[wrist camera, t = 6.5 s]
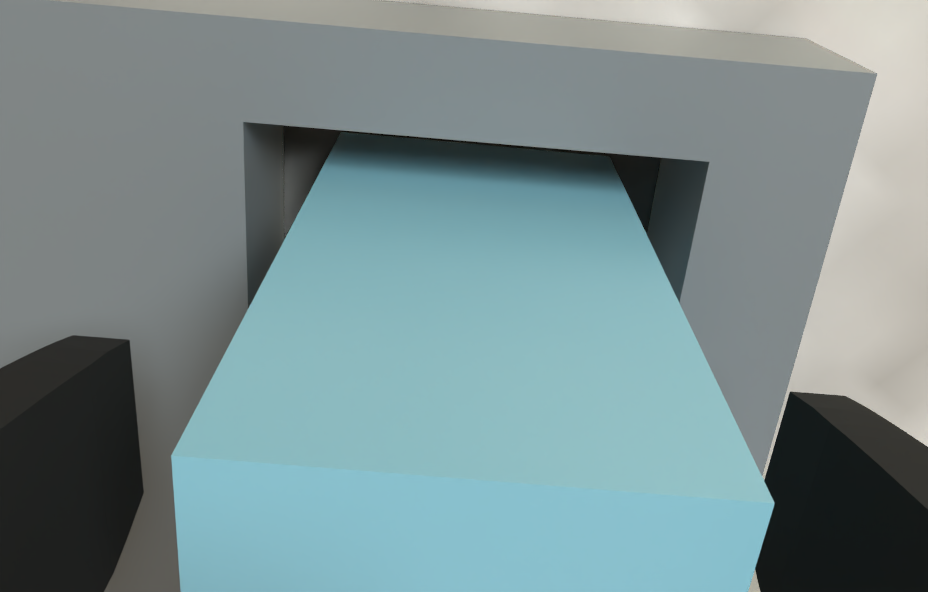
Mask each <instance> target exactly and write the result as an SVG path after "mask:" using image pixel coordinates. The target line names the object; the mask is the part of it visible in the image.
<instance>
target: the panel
mask: <svg viewBox="0 0 928 592" xmlns="http://www.w3.org/2000/svg"><path fill="white" fill-rule="evenodd" d="M876 76H877V73H875V72H873V71H871V70H869V69H867V68H865V67H863V66H861V65H859V64H857V63H855V62H853V61H851V60H849V59H847V58H845V57H843V56H840V55H838V54H836V53H834V52H832V51H830V50H828V49H826V48H824V47H822V46H820V45H818V44H816V43H814V42H812V41H810V40H808V39H806V38H795V37H784V36H773V35H762V34H751V33H739V32H728V31H717V30H706V29H695V28H684V27H672V26H661V25H650V24H639V23H628V22H617V21H605V20H594V19H583V18H572V17H561V16H549V15H538V14H527V13H516V12H505V11H494V10H482V9H471V8H460V7H449V6H438V5H426V4H415V3H404V2H393V1H382V0H0V368H2V367H4V366H6V365H8V364H10V363H12V362H14V361H16V360H18V359H20V358H22V357H24V356H26V355H28V354H30V353H32V352H34V351H36V350H39V349H41V348H43V347H45V346H47V345H50V344H52V343H54V342H56V341H59V340H62V339H64V338H67V337H69V336H72V335H77V336H89V337H102V338H115V339H127V340H130V350H131V361H132V371H133V382H134V393H135V403H136V414H137V425H138V436H139V446H140V457H141V468H142V479H143V489H144V494H143V496H142V499H141V502H140V505H139V507H138V510H137V513H136V516H135V518H134V521H133V524H132V527H131V530H130V532H129V535H128V538H127V540H126V543H125V545H124V548H123V550H122V553H121V556H120V558H119V561H118V563H117V566H116V568H115V571H114V573H113V575H112V577H111V579H110V581H109V583H108V585H107V587H106V589H105V591H104V592H181V590H180V575H179V561H178V547H177V532H176V518H175V503H174V489H173V475H172V460H171V455H172V453H173V451H174V449H175V448H176V446H177V444H178V442H179V440H180V438H181V436H182V434H183V432H184V430H185V428H186V427H187V425H188V423H189V421H190V419H191V417H192V415H193V413H194V411H195V409H196V407H197V406H198V404H199V402H200V400H201V398H202V396H203V394H204V392H205V390H206V388H207V387H208V385H209V383H210V381H211V379H212V377H213V375H214V373H215V371H216V369H217V367H218V366H219V364H220V362H221V360H222V358H223V356H224V354H225V352H226V350H227V348H228V346H229V345H230V343H231V341H232V339H233V337H234V335H235V333H236V331H237V329H238V327H239V325H240V324H241V322H242V320H243V318H244V316H245V314H246V312H247V310H248V308H249V306H250V305H251V303H252V301H253V299H254V297H255V295H256V293H257V291H258V289H259V287H260V285H261V284H262V282H263V280H264V278H265V276H266V274H267V272H268V270H269V268H270V266H271V264H272V263H273V261H274V259H275V257H276V255H277V253H278V251H279V249H280V247H281V245H282V243H283V242H284V153H283V125H285V126H297V127H308V128H320V129H332V130H343V131H355V132H367V133H379V134H390V135H402V136H414V137H425V138H437V139H449V140H460V141H472V142H484V143H496V144H507V145H519V146H531V147H542V148H554V149H566V150H577V151H589V152H601V153H612V154H624V155H636V156H648V157H659V158H661V162H660V167H659V172H658V178H657V183H656V188H655V194H654V199H653V204H652V210H651V215H650V220H649V226H648V231H647V236H648V238H649V240H650V242H651V245H652V247H653V249H654V251H655V253H656V255H657V257H658V259H659V261H660V263H661V266H662V268H663V270H664V272H665V274H666V276H667V278H668V280H669V282H670V284H671V287H672V289H673V291H674V293H675V295H676V297H677V299H678V301H679V303H680V305H681V308H682V310H683V312H684V314H685V316H686V318H687V320H688V322H689V324H690V326H691V329H692V331H693V333H694V335H695V337H696V339H697V341H698V343H699V345H700V347H701V350H702V352H703V354H704V356H705V358H706V360H707V362H708V364H709V366H710V368H711V371H712V373H713V375H714V377H715V379H716V381H717V383H718V385H719V387H720V389H721V392H722V394H723V396H724V398H725V400H726V402H727V404H728V406H729V408H730V410H731V413H732V415H733V417H734V419H735V421H736V423H737V425H738V427H739V429H740V431H741V434H742V436H743V438H744V440H745V442H746V444H747V446H748V448H749V450H750V452H751V455H752V457H753V459H754V461H755V463H756V465H757V467H758V469H759V471H760V473H761V476H762V475H763V471H764V468H765V464H766V461H767V457H768V454H769V450H770V447H771V443H772V440H773V436H774V433H775V429H776V426H777V422H778V419H779V415H780V412H781V408H782V405H783V401H784V398H785V394H786V391H787V387H788V384H789V380H790V377H791V373H792V370H793V366H794V363H795V359H796V356H797V352H798V349H799V345H800V342H801V338H802V335H803V331H804V328H805V324H806V321H807V317H808V314H809V310H810V307H811V303H812V300H813V296H814V293H815V289H816V286H817V282H818V279H819V275H820V272H821V268H822V265H823V261H824V258H825V254H826V251H827V247H828V244H829V240H830V237H831V233H832V230H833V226H834V223H835V220H836V216H837V213H838V209H839V206H840V202H841V199H842V195H843V192H844V188H845V185H846V181H847V178H848V174H849V171H850V167H851V164H852V160H853V157H854V153H855V150H856V146H857V143H858V139H859V136H860V132H861V129H862V125H863V122H864V118H865V115H866V111H867V108H868V104H869V101H870V97H871V94H872V90H873V87H874V83H875V80H876Z"/></svg>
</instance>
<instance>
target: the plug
mask: <svg viewBox="0 0 928 592" xmlns="http://www.w3.org/2000/svg"><path fill="white" fill-rule="evenodd" d="M171 460H172V475H173V489H174V503H175V518H176V532H177V547H178V561H179V575H180V590H181V592H748V590H749V587H750V583H751V580H752V577H753V573H754V570H755V567H756V564H757V560H758V557H759V554H760V550H761V547H762V544H763V541H764V537H765V534H766V531H767V527H768V524H769V521H770V517H771V514H772V511H773V508H774V504H775V503H774V501H773V499H772V497H771V494H770V492H769V490H768V488H767V486H766V484H765V482H764V480H763V478H762V476H761V473H760V471H759V469H758V467H757V465H756V463H755V461H754V459H753V457H752V455H751V452H750V450H749V448H748V446H747V444H746V442H745V440H744V438H743V436H742V434H741V431H740V429H739V427H738V425H737V423H736V421H735V419H734V417H733V415H732V413H731V410H730V408H729V406H728V404H727V402H726V400H725V398H724V396H723V394H722V392H721V389H720V387H719V385H718V383H717V381H716V379H715V377H714V375H713V373H712V371H711V368H710V366H709V364H708V362H707V360H706V358H705V356H704V354H703V352H702V350H701V347H700V345H699V343H698V341H697V339H696V337H695V335H694V333H693V331H692V329H691V326H690V324H689V322H688V320H687V318H686V316H685V314H684V312H683V310H682V308H681V305H680V303H679V301H678V299H677V297H676V295H675V293H674V291H673V289H672V287H671V284H670V282H669V280H668V278H667V276H666V274H665V272H664V270H663V268H662V266H661V263H660V261H659V259H658V257H657V255H656V253H655V251H654V249H653V247H652V245H651V242H650V240H649V238H648V236H647V234H646V232H645V230H644V228H643V226H642V224H641V221H640V219H639V217H638V215H637V213H636V211H635V209H634V207H633V205H632V203H631V200H630V198H629V196H628V194H627V192H626V190H625V188H624V186H623V184H622V182H621V179H620V177H619V175H618V173H617V171H616V169H615V167H614V165H613V163H612V161H611V159H610V156H602V155H591V154H580V153H568V152H557V151H546V150H535V149H524V148H513V147H501V146H490V145H479V144H468V143H457V142H445V141H434V140H423V139H412V138H401V137H390V136H378V135H367V134H356V133H345V132H341V133H340V135H339V137H338V139H337V141H336V142H335V144H334V146H333V148H332V150H331V152H330V154H329V156H328V158H327V160H326V161H325V163H324V165H323V167H322V169H321V171H320V173H319V175H318V177H317V179H316V181H315V182H314V184H313V186H312V188H311V190H310V192H309V194H308V196H307V198H306V200H305V202H304V203H303V205H302V207H301V209H300V211H299V213H298V215H297V217H296V219H295V221H294V223H293V224H292V226H291V228H290V230H289V232H288V234H287V236H286V238H285V240H284V242H283V243H282V245H281V247H280V249H279V251H278V253H277V255H276V257H275V259H274V261H273V263H272V264H271V266H270V268H269V270H268V272H267V274H266V276H265V278H264V280H263V282H262V284H261V285H260V287H259V289H258V291H257V293H256V295H255V297H254V299H253V301H252V303H251V305H250V306H249V308H248V310H247V312H246V314H245V316H244V318H243V320H242V322H241V324H240V325H239V327H238V329H237V331H236V333H235V335H234V337H233V339H232V341H231V343H230V345H229V346H228V348H227V350H226V352H225V354H224V356H223V358H222V360H221V362H220V364H219V366H218V367H217V369H216V371H215V373H214V375H213V377H212V379H211V381H210V383H209V385H208V387H207V388H206V390H205V392H204V394H203V396H202V398H201V400H200V402H199V404H198V406H197V407H196V409H195V411H194V413H193V415H192V417H191V419H190V421H189V423H188V425H187V427H186V428H185V430H184V432H183V434H182V436H181V438H180V440H179V442H178V444H177V446H176V448H175V449H174V451H173V453H172V455H171Z"/></svg>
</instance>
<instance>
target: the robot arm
mask: <svg viewBox="0 0 928 592" xmlns="http://www.w3.org/2000/svg"><path fill="white" fill-rule="evenodd" d="M764 482H765V484H766V486H767V488H768V490H769V492H770V494H771V497H772V499H773V501H774V503H775V504H774V508H773V511H772V514H771V517H770V521H769V524H768V527H767V531H766V534H765V537H764V541H763V544H762V547H761V550H760V554H759V557H758V560H757V564H756V567H755V570H756V575H757V579H758V583H759V587H760V591H761V592H928V447H927V446H925V445H924V444H922V443H921V442H919V441H918V440H916V439H915V438H913V437H912V436H910V435H909V434H907V433H906V432H904V431H903V430H901V429H900V428H898V427H897V426H895V425H894V424H892V423H891V422H889V421H887V420H886V419H884V418H883V417H881V416H880V415H878V414H876V413H875V412H873V411H871V410H870V409H868V408H866V407H865V406H863V405H861V404H859V403H857V402H856V401H854V400H852V399H850V398H848V397H846V396H838V395H825V394H813V393H800V392H790V394H789V397H788V401H787V404H786V408H785V411H784V415H783V418H782V421H781V425H780V428H779V432H778V435H777V439H776V442H775V446H774V449H773V453H772V456H771V460H770V463H769V467H768V470H767V473H766V477H765V480H764ZM143 494H144V489H143V479H142V468H141V457H140V446H139V436H138V425H137V414H136V403H135V393H134V382H133V371H132V361H131V350H130V340H127V339H115V338H102V337H89V336H77V335H72V336H69V337H67V338H64V339H62V340H59V341H56V342H54V343H52V344H50V345H47V346H45V347H43V348H41V349H39V350H36V351H34V352H32V353H30V354H28V355H26V356H24V357H22V358H20V359H18V360H16V361H14V362H12V363H10V364H8V365H6V366H4V367H2V368H0V592H104V591H105V589H106V587H107V585H108V583H109V581H110V579H111V577H112V575H113V573H114V571H115V568H116V566H117V563H118V561H119V558H120V556H121V553H122V550H123V548H124V545H125V543H126V540H127V538H128V535H129V532H130V530H131V527H132V524H133V521H134V518H135V516H136V513H137V510H138V507H139V505H140V502H141V499H142V496H143Z"/></svg>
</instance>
